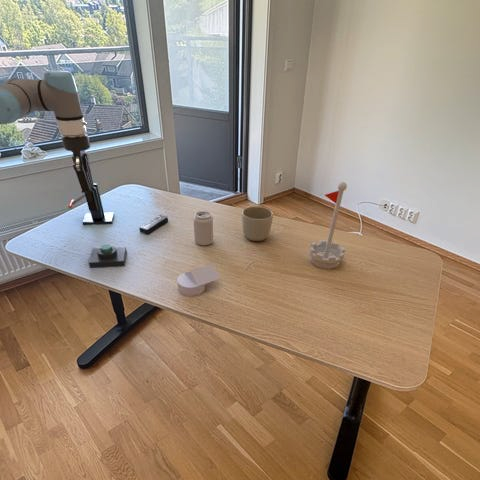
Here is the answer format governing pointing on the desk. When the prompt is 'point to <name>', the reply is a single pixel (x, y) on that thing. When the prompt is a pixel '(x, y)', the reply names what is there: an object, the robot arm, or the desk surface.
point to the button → (106, 248)
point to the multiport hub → (153, 224)
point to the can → (203, 228)
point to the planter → (256, 222)
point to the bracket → (98, 212)
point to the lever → (76, 200)
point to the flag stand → (329, 238)
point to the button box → (108, 257)
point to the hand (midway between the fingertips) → (93, 209)
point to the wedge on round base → (196, 280)
